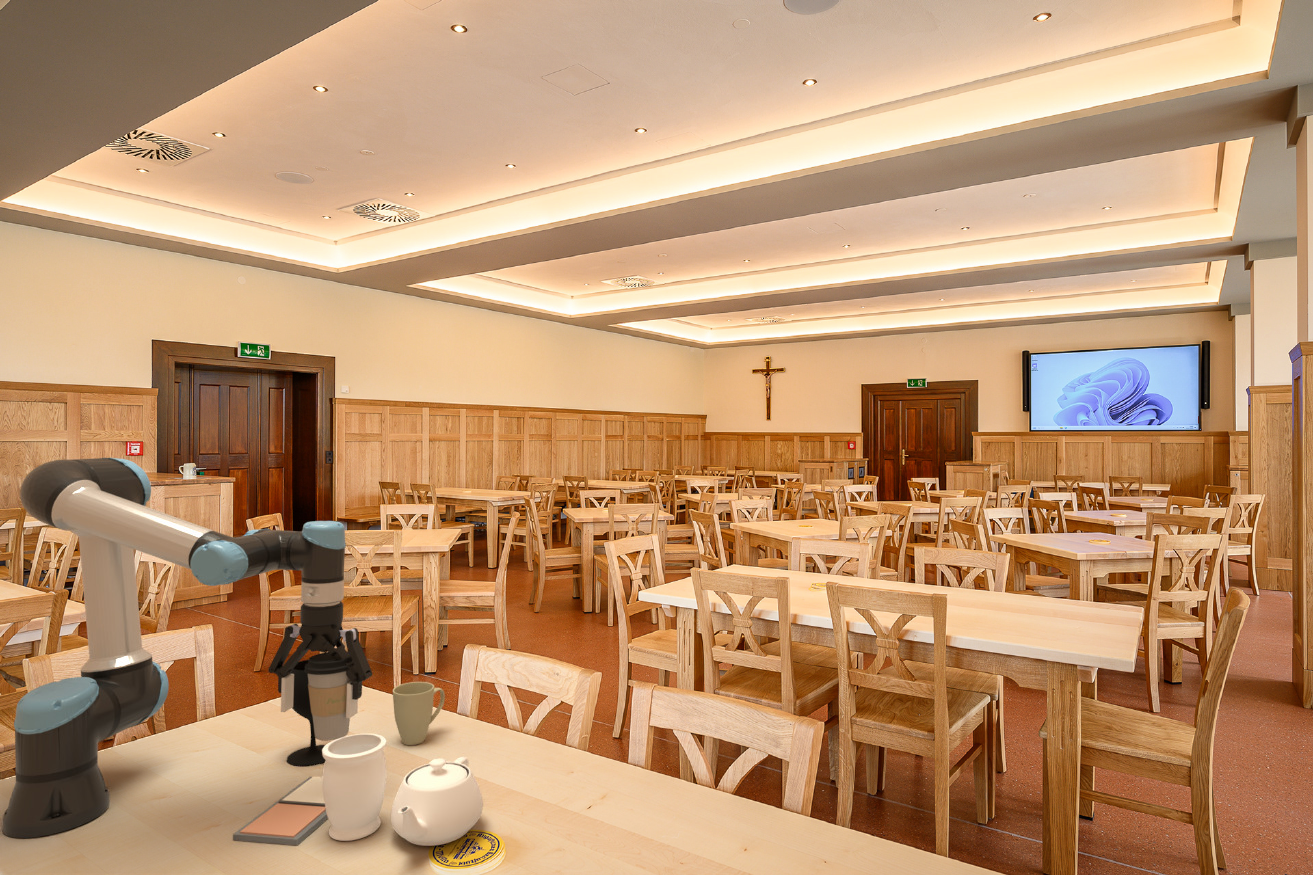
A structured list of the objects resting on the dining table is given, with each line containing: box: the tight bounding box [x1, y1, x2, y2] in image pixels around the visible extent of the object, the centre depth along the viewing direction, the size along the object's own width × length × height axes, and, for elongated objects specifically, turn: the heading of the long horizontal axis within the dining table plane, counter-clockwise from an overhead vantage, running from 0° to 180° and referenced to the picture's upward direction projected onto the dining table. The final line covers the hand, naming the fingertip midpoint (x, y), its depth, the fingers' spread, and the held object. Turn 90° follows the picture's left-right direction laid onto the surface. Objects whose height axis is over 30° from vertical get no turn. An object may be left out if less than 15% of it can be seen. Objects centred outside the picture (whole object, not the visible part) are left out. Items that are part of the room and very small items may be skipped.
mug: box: [392, 681, 446, 746], centre depth 171 cm, size 11×10×12 cm
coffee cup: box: [304, 651, 354, 742], centre depth 144 cm, size 9×9×15 cm
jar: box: [321, 733, 388, 842], centre depth 132 cm, size 11×10×15 cm
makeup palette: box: [232, 776, 329, 847], centre depth 138 cm, size 12×22×2 cm, turn 172°
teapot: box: [390, 756, 484, 847], centre depth 131 cm, size 25×16×12 cm, turn 171°
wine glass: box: [286, 659, 326, 768], centre depth 162 cm, size 10×10×20 cm
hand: (319, 712), depth 144 cm, fingers open, 13 cm apart
